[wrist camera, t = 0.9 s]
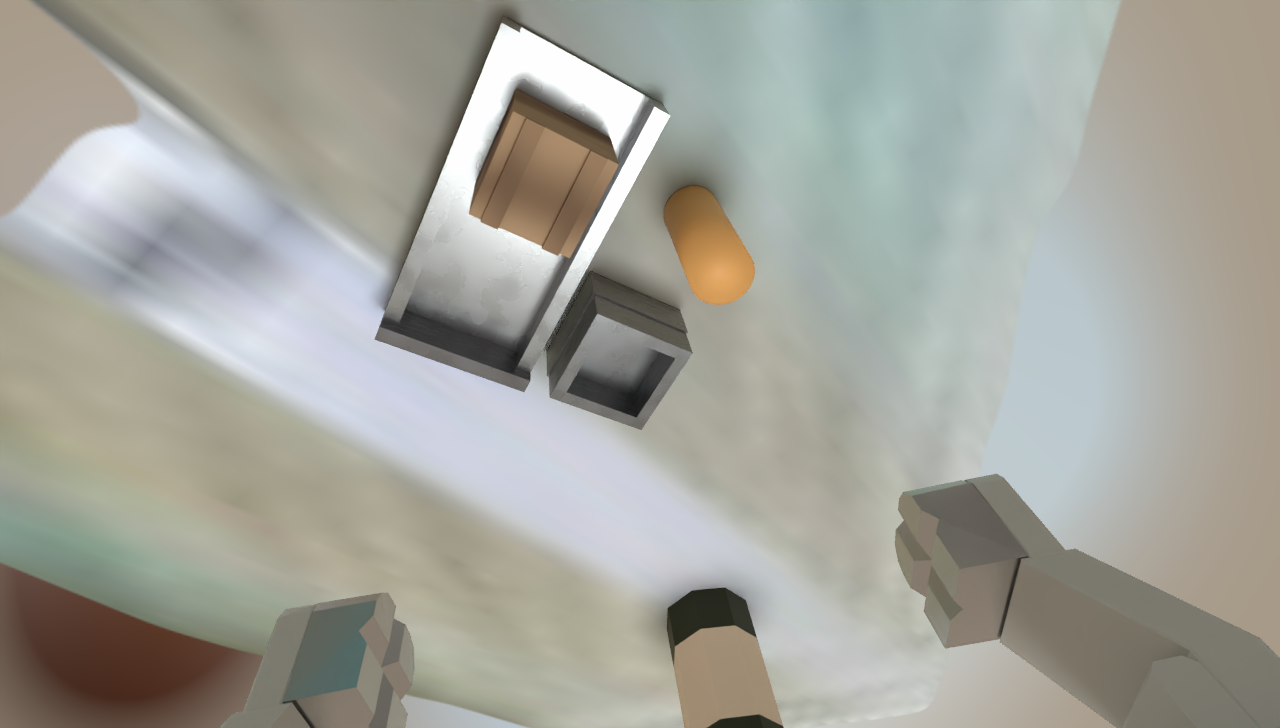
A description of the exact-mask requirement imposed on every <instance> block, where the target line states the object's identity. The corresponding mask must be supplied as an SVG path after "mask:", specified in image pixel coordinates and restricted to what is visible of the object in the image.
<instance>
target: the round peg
mask: <svg viewBox="0 0 1280 728" xmlns="http://www.w3.org/2000/svg"><path fill="white" fill-rule="evenodd" d="M664 220H665V224H666V226H667V229H668V231H669V234H670V236H671V239H672V241H673V244H674V246H675V249H676V251H677V254H678V257H679V259H680V262H681V264H682V267H683V269H684V272H685V274H686V277H687V279H688V282H689V284H690V287H691V289H692V291H693V293H694V294H695V295H696V296H697V297H698V298H699V299H700V300H702V301H704V302H706V303H709V304H715V305H721V304H727V303H730V302H733V301H735V300H737V299H738V298H740V297H741V296H742V295H744V294H745V292H746V291H747V290H748V289H749V287H750V286H751V284H752V282H753V279H754V274H755V267H754V263H753V260H752V258H751V256H750V255H749V253H748V251H747V250H746V248H745V246H744V245H743V243H742V241H741V240H740V238H739V236H738V234H737V233H736V231H735V229H734V228H733V226H732V224H731V223H730V221H729V219H728V218H727V216H726V214H725V213H724V211H723V209H722V208H721V206H720V204H719V203H718V201H717V199H716V198H715V196H714V195H713V194H712V193H711V192H710V191H709V190H707V189H706V188H703V187H700V186H688V187H684V188H682V189H680V190H678V191H676V192H675V193H674V194H673V195H672V196H671V197H670V198H669V200H668V201H667V203H666V206H665V209H664Z"/></svg>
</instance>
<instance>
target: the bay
mask: <svg viewBox="0 0 1280 728" xmlns="http://www.w3.org/2000/svg"><path fill="white" fill-rule="evenodd" d="M515 89H517V90H519V91H521V92H523V93H525V94H527V95H529V96H531V97H533V98H535V99H537V100H538V101H540V102H542V103H544V104H546V105H548V106H550V107H552V108H554V109H556V110H558V111H560V112H562V113H563V114H565V115H567V116H569V117H571V118H573V119H575V120H577V121H579V122H581V123H583V124H585V125H587V126H589V127H590V128H592V129H594V130H596V131H598V132H600V133H602V134H604V135H606V136H608V137H610V138H611V141H612V144H613V147H614V150H615V153H616V157H617V160H618V163H619V166H618V168H617V169H616V171H615V173H614V175H613V177H612V179H611V181H610V183H609V185H608V187H607V188H606V190H605V192H604V194H603V196H602V198H601V200H600V202H599V204H598V206H597V207H596V209H595V211H594V213H593V215H592V217H591V219H590V221H589V223H588V225H587V226H586V228H585V230H584V232H583V234H582V236H581V238H580V240H579V242H578V244H577V245H576V247H575V249H574V251H573V253H572V255H571V257H570V258H568V257H565V256H563V255H561V254H559V256H557V255H555V254H552V253H550V252H548V251H545V250H543V249H542V246H540V245H538V244H536V243H533V242H531V241H529V240H527V239H524V238H522V237H520V236H517V235H515V234H513V233H511V232H508V231H506V230H504V229H501V228H498V230H497V229H495V228H493V227H490V226H488V225H486V224H484V223H481V222H480V221H481V219H479V218H476V217H474V216H472V215H469V210H470V205H471V200H472V196H473V191H474V187H475V182H476V180H477V178H478V175H479V173H480V171H481V168H482V166H483V164H484V161H485V159H486V157H487V154H488V152H489V150H490V147H491V145H492V143H493V140H494V138H495V136H496V133H497V131H498V129H499V126H500V124H501V122H502V119H503V117H504V115H505V112H506V110H507V108H508V105H509V103H510V101H511V99H512V96H513V94H514V92H515ZM669 117H670V114H669V113H668V111H667V110H666V108H665V106H664V105H663V104H661V103H660V102H658V101H656V100H654V99H652V98H651V97H649V96H647V95H645V94H643V93H642V92H640V91H638V90H636V89H634V88H633V87H631V86H629V85H627V84H625V83H624V82H622V81H620V80H618V79H616V78H615V77H613V76H611V75H609V74H607V73H606V72H604V71H602V70H600V69H598V68H597V67H595V66H593V65H591V64H589V63H588V62H586V61H584V60H582V59H580V58H579V57H577V56H575V55H573V54H571V53H570V52H568V51H566V50H564V49H562V48H561V47H559V46H557V45H555V44H553V43H552V42H550V41H548V40H546V39H544V38H543V37H541V36H539V35H537V34H535V33H534V32H532V31H530V30H528V29H526V28H525V27H523V26H521V25H519V24H517V23H516V22H514V21H512V20H510V19H508V18H507V17H505V16H503V19H502V21H501V24H500V26H499V29H498V31H497V34H496V36H495V39H494V41H493V44H492V46H491V49H490V51H489V54H488V56H487V59H486V61H485V64H484V66H483V68H482V71H481V73H480V76H479V78H478V81H477V83H476V86H475V88H474V91H473V93H472V96H471V98H470V101H469V103H468V106H467V108H466V111H465V113H464V116H463V118H462V121H461V123H460V126H459V128H458V131H457V133H456V136H455V138H454V141H453V143H452V146H451V148H450V151H449V153H448V156H447V158H446V161H445V163H444V166H443V168H442V171H441V173H440V176H439V178H438V181H437V183H436V186H435V188H434V191H433V193H432V196H431V198H430V200H429V203H428V205H427V208H426V210H425V213H424V215H423V218H422V220H421V223H420V225H419V228H418V230H417V233H416V235H415V238H414V240H413V243H412V245H411V248H410V250H409V253H408V255H407V258H406V260H405V263H404V265H403V268H402V270H401V273H400V275H399V278H398V280H397V283H396V285H395V288H394V290H393V293H392V295H391V298H390V300H389V303H388V305H387V308H386V310H385V313H384V315H383V318H382V321H381V324H380V326H379V329H378V332H377V334H376V337H375V340H378V341H381V342H383V343H386V344H389V345H392V346H395V347H398V348H400V349H403V350H406V351H409V352H412V353H415V354H417V355H420V356H423V357H426V358H429V359H432V360H435V361H437V362H440V363H443V364H446V365H449V366H452V367H454V368H457V369H460V370H463V371H466V372H469V373H471V374H474V375H477V376H480V377H483V378H486V379H488V380H491V381H494V382H497V383H500V384H503V385H505V386H508V387H511V388H514V389H517V390H520V391H523V392H525V390H526V388H527V386H528V384H529V382H530V372H531V371H532V369H533V367H534V365H535V363H536V361H537V359H538V358H539V356H540V354H541V352H542V350H543V348H544V347H545V345H546V343H547V341H548V339H549V337H550V336H551V334H552V332H553V330H554V328H555V326H556V325H557V323H558V321H559V319H560V317H561V315H562V314H563V312H564V310H565V308H566V306H567V304H568V302H569V301H570V299H571V297H572V295H573V293H574V291H575V290H576V288H577V286H578V284H579V282H580V280H581V279H582V277H583V275H584V273H585V271H586V269H587V268H588V266H589V264H590V262H591V260H592V258H593V256H594V255H595V253H596V251H597V249H598V247H599V245H600V244H601V242H602V240H603V238H604V236H605V234H606V233H607V231H608V229H609V227H610V225H611V223H612V222H613V220H614V218H615V216H616V214H617V212H618V211H619V209H620V207H621V205H622V203H623V201H624V199H625V198H626V196H627V194H628V192H629V190H630V188H631V187H632V185H633V183H634V181H635V179H636V177H637V176H638V174H639V172H640V170H641V168H642V166H643V165H644V163H645V161H646V159H647V157H648V155H649V154H650V152H651V150H652V148H653V146H654V144H655V142H656V141H657V139H658V137H659V135H660V133H661V131H662V130H663V128H664V126H665V124H666V122H667V120H668V119H669Z"/></svg>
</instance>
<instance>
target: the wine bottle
mask: <svg viewBox="0 0 1280 728" xmlns="http://www.w3.org/2000/svg"><path fill="white" fill-rule="evenodd" d="M667 632H668V637H669V643H670V648H671V654H672V660H673V665H674V671H675V676H676V682H677V688H678V693H679V699H680V704H681V710H682V716H683V721H684V727H685V728H783V724H782V721H781V718H780V714H779V711H778V708H777V704H776V701H775V697H774V694H773V691H772V687H771V684H770V681H769V677H768V674H767V671H766V667H765V664H764V661H763V657H762V654H761V650H760V647H759V644H758V640H757V637H756V634H755V630H754V627H753V624H752V620H751V617H750V614H749V610H748V607H747V603H746V600H744V599H742V598H741V597H739V596H737V595H736V594H734V593H733V592H731V591H729V590H728V589H726V588H717V589H707V590H697V591H691V592H690V593H689V594H687V595H686V596H684V597H683V598H682V599H680V600H679V601H677V602H676V603H675V604H673V605H672V606H671V607H669V608H668V617H667Z"/></svg>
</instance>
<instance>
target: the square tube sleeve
mask: <svg viewBox="0 0 1280 728" xmlns="http://www.w3.org/2000/svg"><path fill="white" fill-rule="evenodd" d="M687 333H688V332H687V329H686V326H685V323H684V320H683V317H682V315H681V312H680V310H678V309H676V308H674V307H671V306H669V305H667V304H665V303H662V302H660V301H658V300H655V299H653V298H651V297H648V296H646V295H644V294H642V293H639V292H637V291H635V290H632V289H630V288H628V287H625V286H623V285H621V284H619V283H616V282H614V281H612V280H609V279H607V278H605V277H603V276H600V275H598V274H596V273H593V272H590V274H589V276H588V278H587V279H586V281H585V283H584V285H583V287H582V288H581V290H580V292H579V294H578V296H577V298H576V299H575V301H574V303H573V305H572V307H571V309H570V310H569V312H568V314H567V316H566V318H565V319H564V321H563V323H562V325H561V327H560V329H559V330H558V332H557V334H556V336H555V338H554V340H553V341H552V343H551V345H550V347H549V349H548V350H547V376H548V377H549V390H550V398H553V399H556V400H558V401H561V402H564V403H567V404H570V405H572V406H575V407H578V408H581V409H584V410H587V411H589V412H592V413H595V414H598V415H601V416H604V417H606V418H609V419H612V420H615V421H618V422H620V423H623V424H626V425H629V426H632V427H635V428H637V429H640V430H642V428H643V427H644V425H645V424H646V422H647V421H648V419H649V418H650V416H651V415H652V413H653V412H654V410H655V409H656V407H657V406H658V404H659V403H660V401H661V400H662V398H663V397H664V395H665V394H666V392H667V391H668V389H669V388H670V386H671V385H672V383H673V382H674V380H675V379H676V377H677V376H678V374H679V373H680V371H681V370H682V368H683V367H684V365H685V364H686V362H687V361H688V359H689V358H690V356H691V355H692V350H691V347H690V344H689V341H688V338H687V335H686V334H687Z"/></svg>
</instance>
